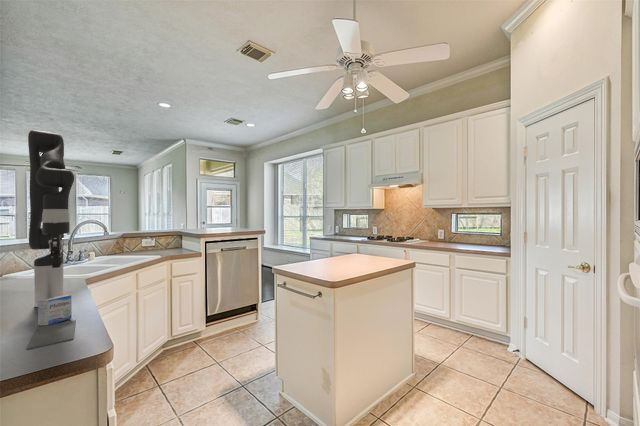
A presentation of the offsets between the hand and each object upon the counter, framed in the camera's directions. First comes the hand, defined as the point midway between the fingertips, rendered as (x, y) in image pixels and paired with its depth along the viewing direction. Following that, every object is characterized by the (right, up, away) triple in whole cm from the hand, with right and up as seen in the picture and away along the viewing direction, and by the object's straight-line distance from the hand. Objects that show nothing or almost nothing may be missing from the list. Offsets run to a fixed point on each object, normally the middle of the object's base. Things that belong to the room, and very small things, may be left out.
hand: (56, 266), depth 106 cm
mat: (+13, -19, -15) cm, 28 cm away
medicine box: (+5, -19, -5) cm, 20 cm away
